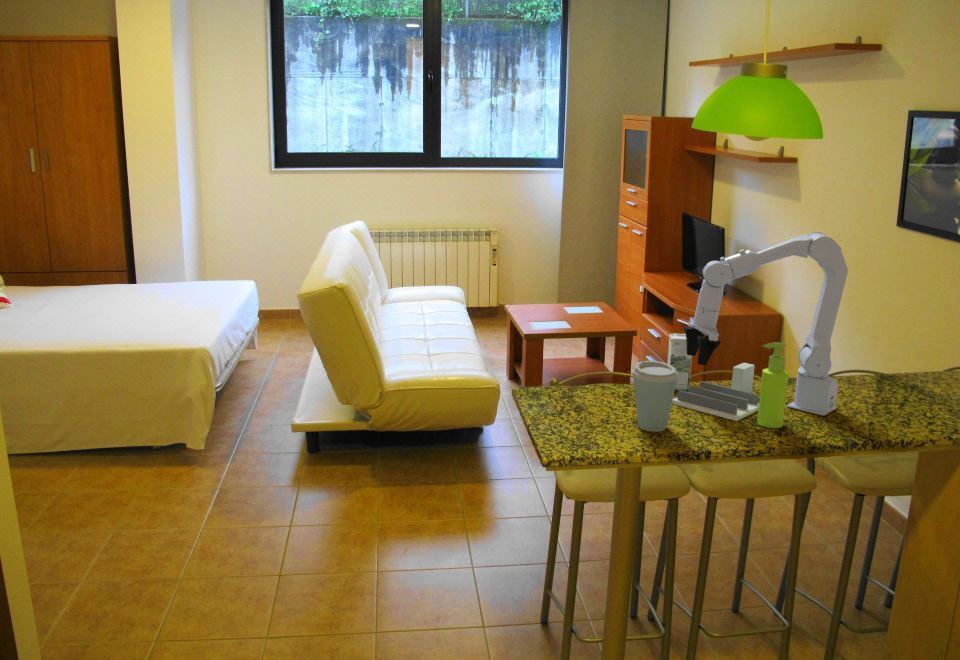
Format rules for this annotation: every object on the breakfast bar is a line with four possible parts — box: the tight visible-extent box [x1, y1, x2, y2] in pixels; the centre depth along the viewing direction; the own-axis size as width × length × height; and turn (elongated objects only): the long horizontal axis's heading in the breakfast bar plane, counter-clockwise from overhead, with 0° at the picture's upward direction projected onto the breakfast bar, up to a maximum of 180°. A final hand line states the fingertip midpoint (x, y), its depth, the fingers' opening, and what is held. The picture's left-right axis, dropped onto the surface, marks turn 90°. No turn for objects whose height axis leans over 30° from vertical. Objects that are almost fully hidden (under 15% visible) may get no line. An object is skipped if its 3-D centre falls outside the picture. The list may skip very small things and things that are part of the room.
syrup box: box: [666, 333, 693, 392], centre depth 239 cm, size 6×6×14 cm
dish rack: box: [672, 380, 760, 422], centre depth 227 cm, size 18×14×4 cm
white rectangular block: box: [730, 362, 755, 393], centre depth 235 cm, size 6×3×8 cm, turn 137°
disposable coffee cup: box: [631, 360, 678, 433], centre depth 209 cm, size 11×11×15 cm
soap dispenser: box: [756, 341, 790, 429], centre depth 212 cm, size 6×7×20 cm
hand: (696, 359), depth 229 cm, fingers open, 7 cm apart
